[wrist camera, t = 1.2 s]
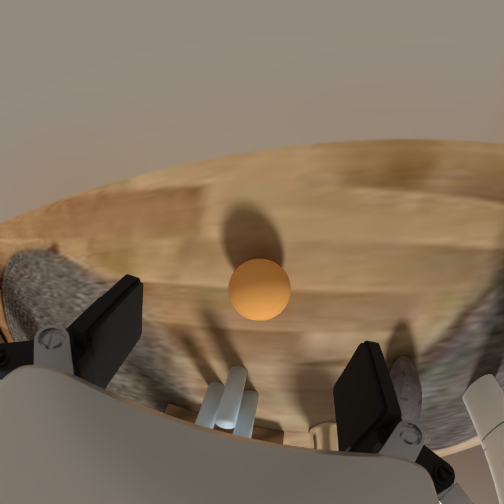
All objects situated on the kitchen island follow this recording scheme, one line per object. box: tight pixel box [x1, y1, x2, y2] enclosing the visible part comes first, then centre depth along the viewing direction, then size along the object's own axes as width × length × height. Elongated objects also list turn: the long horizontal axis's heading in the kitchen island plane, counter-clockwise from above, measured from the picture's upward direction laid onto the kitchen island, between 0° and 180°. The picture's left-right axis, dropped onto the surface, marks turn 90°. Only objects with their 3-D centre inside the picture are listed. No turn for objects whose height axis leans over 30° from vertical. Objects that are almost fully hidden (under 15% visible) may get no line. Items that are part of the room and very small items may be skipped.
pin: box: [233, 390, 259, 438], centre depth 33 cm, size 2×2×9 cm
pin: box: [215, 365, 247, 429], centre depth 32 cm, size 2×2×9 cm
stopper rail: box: [164, 404, 284, 444], centre depth 40 cm, size 20×2×4 cm, turn 79°
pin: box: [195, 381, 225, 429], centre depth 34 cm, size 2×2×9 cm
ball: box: [229, 259, 291, 320], centre depth 27 cm, size 6×6×6 cm
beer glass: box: [309, 422, 339, 451], centre depth 32 cm, size 7×7×15 cm
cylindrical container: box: [463, 374, 504, 504], centre depth 21 cm, size 7×7×25 cm
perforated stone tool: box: [389, 355, 422, 424], centre depth 30 cm, size 15×5×7 cm, turn 17°
